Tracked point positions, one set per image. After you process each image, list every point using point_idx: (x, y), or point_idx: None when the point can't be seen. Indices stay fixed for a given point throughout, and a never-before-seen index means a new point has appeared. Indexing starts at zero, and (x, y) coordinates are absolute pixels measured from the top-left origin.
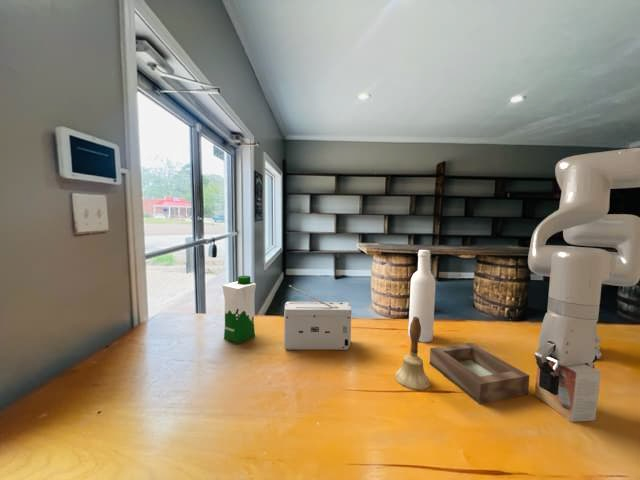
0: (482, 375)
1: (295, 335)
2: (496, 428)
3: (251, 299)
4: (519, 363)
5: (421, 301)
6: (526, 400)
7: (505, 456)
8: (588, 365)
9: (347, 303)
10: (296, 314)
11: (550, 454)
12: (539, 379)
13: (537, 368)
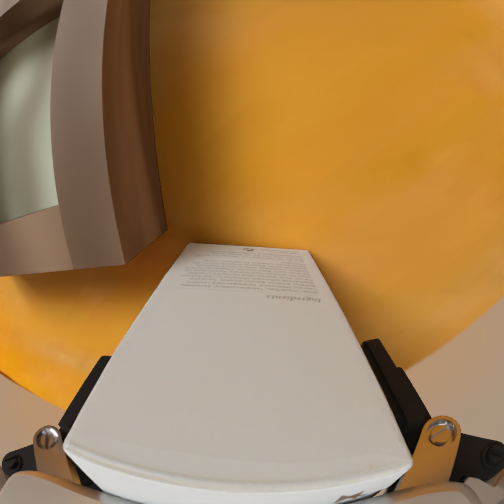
0: (49, 114)
1: None
2: (12, 328)
3: None
4: (375, 14)
5: None
6: (127, 264)
7: (15, 369)
8: (384, 493)
9: None
10: None
11: (74, 395)
12: (88, 376)
13: (134, 323)
